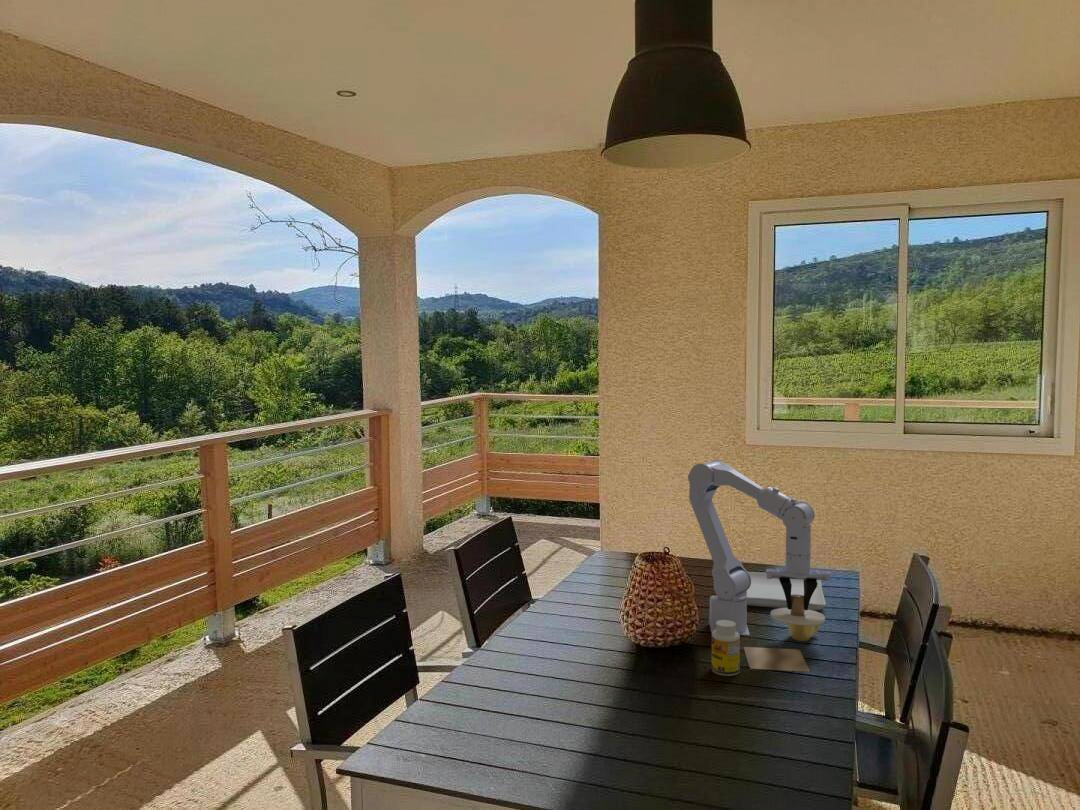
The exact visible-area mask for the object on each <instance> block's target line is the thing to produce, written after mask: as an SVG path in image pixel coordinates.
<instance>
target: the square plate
mask: <svg viewBox="0 0 1080 810" xmlns="http://www.w3.org/2000/svg"><path fill="white" fill-rule="evenodd" d="M747 572H748V573H749V575H750V577H751V586H750V588H749V589H748V590H747V606H751V607H764V608H773V609H778V608H787V602H786V597H785V594H784V591H783V588H782V585H781V583H780V581H779V579H778V578H772V579H767V577H766V572H763V571H762V572H760V571H747ZM790 580H791V584H792V587H791V595H793V594H798V595H803V596H804V580H803V579H790ZM822 587H823V586H822V580H817V587H816V589H815V591H814V592H813V594H812V597H811V599H810V602H809V606H808V610H813V611H820V610H822V609H823V608H825V607H826V606H827V603H826V599H825V596H824V595H825V594H824V591H823V588H822Z"/></svg>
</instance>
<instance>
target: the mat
mask: <svg viewBox="0 0 1080 810" xmlns="http://www.w3.org/2000/svg"><path fill="white" fill-rule="evenodd" d="M743 649H744V650H743V651H744V653H745V656H746V660H747V664H748V667H749V670H765V671H767V670H768V671H786V672H787V671H788V672H801V673H802V672H804V673H805V672H806V673H807V672H808V673H810V672H811V671H810V669H809V666H808V664H807V662H806V660H805V658H804V656H803V655H802V651H801V650H800V649H795V648H794V649H792V648H776V647H773V648H771V647H755V646H754V647H752V646H751V647H750V646H743Z"/></svg>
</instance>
